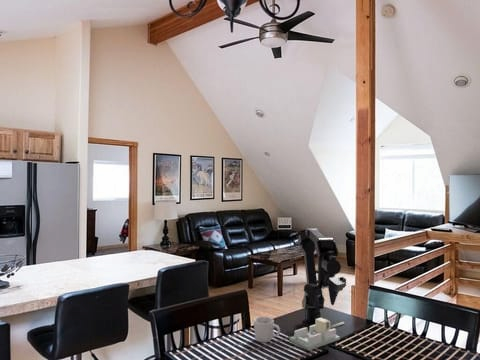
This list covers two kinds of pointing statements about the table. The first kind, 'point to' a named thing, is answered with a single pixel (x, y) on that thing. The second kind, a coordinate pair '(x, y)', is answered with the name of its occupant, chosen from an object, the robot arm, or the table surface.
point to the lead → (337, 325)
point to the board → (313, 337)
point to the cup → (265, 329)
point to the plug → (321, 325)
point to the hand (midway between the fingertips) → (324, 307)
